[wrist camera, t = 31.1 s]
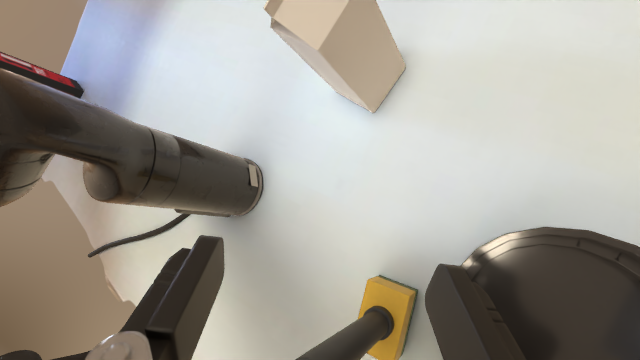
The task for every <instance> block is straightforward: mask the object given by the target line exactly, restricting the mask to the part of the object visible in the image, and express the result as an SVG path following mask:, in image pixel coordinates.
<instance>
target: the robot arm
mask: <svg viewBox="0 0 640 360" xmlns="http://www.w3.org/2000/svg"><path fill="white" fill-rule="evenodd" d="M55 154H58V155H62V156H66V157H70V158H73V159H77V160H80V161H83V178H84V184H85V187H86V189H87V192H88V193H89V195H90V196H91V197H92V198H94V199H95V200H98V201H101V202H106V203H115V204H126V205H136V206H147V207H159V208H169V209H175V211H176V212H177V213H183V214H182V215H180V216H179V217H177V218H176V219H174V220H173V221H171V222H170V223H168V224H166V225H164V226H162V227H160V228H158V229H156V230H153V231H150V232H147V233H145V234H141V235H138V236H134V237H129V238H125V239H122V240H118V241H115V242H111V243H109V244H106V245H104V246H102V247H100V248H98V249H97V250H95V251H93V252H91V253H90V254H88V257H92V256H94V255H96V254H98V253H99V252H101V251H103V250H105V249H108V248H110V247H113V246H117V245H120V244H124V243H128V242H133V241H137V240H141V239H144V238H148V237H151V236H154V235H156V234H159V233H161V232H163V231H165V230H167V229H169V228H171V227H172V226H174V225H176V224H177V223H179V222H180V221H182V220H183V219H185V218H186V217H187V216H189V215H190V214H197V215H209V216H221V217H229V216H231V215H235V216H240V215H244V214H246V213H248V212H249V211H251V210H252V209H253V208H254V206H255V205H256V204H257V202H258V200H259V198H260V195H261V191H262V175H261V172H260V169H259V167H258V166H257V165H256V164H255V163H254V162H253V161H251V160H248V159H245V158H240V157H237V156H234V155H231V154H228V153H225V152H222V151H219V150H216V149H213V148H210V147H207V146H204V145H201V144H198V143H195V142H192V141H189V140H186V139H183V138H180V137H177V136H174V135H171V134H168V133H165V132H162V131H159V130H156V129H153V128H150V127H147V126H144V125H141V124H138V123H135V122H132V121H130V120H128V119H126V118H124V117H122V116H120V115H118V114H116V113H114V112H112V111H110V110H108V109H106V108H103V107H100V106H98V105H95V104H93V103H90V102H87V101H84V100H82V99H79V98H77V97H74V96H71V95H69V94H66V93H64V92H61V91H59V90H56V89H54V88H51V87H49V86H46V85H44V84H41V83H39V82H36V81H34V80H31V79H29V78H26V77H23V76H21V75H18V74H15V73H13V72H10V71H7V70H5V69H2V68H0V207H1V206H4V205H7V204H9V203H11V202H13V201H15V200H17V199H19V198H21V197H23V196H24V195H25V194H27V193H28V192H29V191H30V190H31V189H32V188H33V187H34V186H35V185H36V183H37V182H38V181H39V179H40V178H41V177H42V175H43V173H44V172H45V170H46V168H47V167H48V165H49V163H50V162H51V160H52V158H53V157H54V155H55ZM223 276H224V243H223V238H221V237H213V236H204V235H201V236H199V238H198V239H197V241H196V243H195V244H194V246H193V248H192V249H186V248H182V249H181V250H179V251H178V252H177V253H175V254H174V255H173V256H171V257H170V258H169V259H168V261H167V262H166V264H165V265H164V267H163V268H162V270H161V273H159V274H158V276H157V277H156V279H155V280H154V283H153V284H152V285H151V286H150V288H149V289H148V291H147V292H146V294H145V295H144V297H143V298H142V300H141V301H140V303H139V304H138V306H137V307H136V309H135V310H134V312H133V313H132V315H131V316H130V318H129V319H128V321H127V322H126V324H125V325H124V327H123V328H122V329H121V330H120V332H118V333H117V334H114V335H112V336H110V337H108V338H106V339H104V340H103V341H102V342H100V343H99V344H98V345H97V346H95V347H94V348H93V349H92V350H91V351H88V352H84V353H81V354H76V355H71V356H66V357H61V358H57V359H52V360H191V358H192V356H193V353H194V351H195V349H196V346H197V344H198V341H199V339H200V336H201V334H202V331H203V329H204V326H205V324H206V321H207V319H208V316H209V314H210V311H211V309H212V306H213V304H214V301H215V299H216V296H217V294H218V291H219V289H220V286H221V284H222V280H223ZM425 306H426V310H427V313H428V316H429V319H430V322H431V324H432V327H433V330H434V333H435V336H436V339H437V342H438V345H439V348H440V351H441V353H442V356H443V359H444V360H526V358H525V356H524V355H523V353H522V351H521V349H520V348H519V346H518V344H517V343H516V341H515V339H514V338H513V336H512V334H511V332H510V331H509V329H508V327H507V326H506V324H505V323H503V319H502V317H501V316H500V314H499V312H498V311H496V307H495V305H494V304H493V302H492V300H491V299H490V297H489V295H488V294H487V293H486V292H485V291H484V290H483V289H482V288H481V287H480V286H479V285H478V284H477V283H476V282H471V280H470V278H469V277H468V275H467V273H466V271H465V270H464V268H463V267H461V266H455V265H447V264H439V265H438V266H437V268H436V270H435V272H434V275H433V277H432V279H431V281H430V283H429V285H428V288H427V290H426V293H425ZM0 360H42V359H41V357H40V356H39V354H37V353H36V352H33V351H29V350H20V351H15V352H11V353H7V354H5V355H2V356H0Z"/></svg>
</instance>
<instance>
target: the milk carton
mask: <svg viewBox="0 0 640 360" xmlns="http://www.w3.org/2000/svg"><path fill="white" fill-rule="evenodd" d="M264 10H265V11H266V12H267V13H268V14H269V15H270V16H271V17H272V18H271V28H272V29H273V30H274V31H275V32H276V33H277V34H278V35H279V36H280V37H281V38H282V39H283V40H284V41H285V42H286V43H287V44H288V45H289V46H290V47H291V48H292V49H293V50H294V51H295V52H296V53H297V54H298V55H299V56H300V57H301V58H302V59H303V60H304V61H305V62H306V63H307V64H308V65H309V66H310V67H311V68H312V69H313V70H314V71H315V72H316V73H317V74H318V75H319V76H320V77H322V78H323V79H324V80H325V81H326V82H327V83H328V84H329V85H330V86H331V87H332V88H333V89H334V90H335V91H336V92H337V93H339V94H341V95H342V96H344V97H346V98H348V99H349V100H351V101H353V102H354V103H356V104H358V105H360V106H361V107H363V108H365V109H367V110H368V111H370V112H372V113H375V111H376V110H377V109H378V107H379V106H380V104H381V103H382V101H383V100H384V98H385V97H386V96H387V94H388V93H389V91H390V90H391V88H392V87H393V85H394V84H395V83H396V81H397V80H398V78H399V77H400V75H401V74H402V72H403V71H404V69H405V68H406V65H405V63H404V61H403V58H402V56H401V54H400V52H399V50H398V48H397V45H396V43H395V41H394V39H393V37H392V35H391V32H390V30H389V28H388V26H387V24H386V22H385V19H384V17H383V15H382V13H381V11H380V9H379V6H378V4H377V2H376V0H268V1H267V2H266V4H265V6H264Z"/></svg>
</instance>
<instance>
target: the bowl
mask: <svg viewBox="0 0 640 360" xmlns="http://www.w3.org/2000/svg"><path fill="white" fill-rule="evenodd" d="M461 267H463V268H464V270H465V271H466V273H467V275H468V277H469V278H470V280H471V282H476V283H477V284H478V285H479V286H480V287H481V288H482V289H483V290H484V291H485V292H486V293H487V294H488V295H489V297H490V299H491V300H492V302H493V304H494V305H495V307H496V311H498V312H499V314H500V316H501V317H502V319H503V323H505V324H506V326H507V327H508V329H509V331H510V332H511V334H512V336H513V338H514V339H515V341H516V343H517V344H518V346H519V348H520V349H521V351H522V353H523V355H524V356H525V358H526V360H640V247H638V246H636V245H633V244H630V243H627V242H624V241H621V240H618V239H614V238H611V237H608V236H605V235H602V234H599V233H596V232H593V231H589V230H577V229H565V228H552V227H541V228H536V229H530V230H525V231H519V232H514V233H508V234H504V235H501V236H499V237H497V238H496V239H494V240H492V241H490V242H488V243H486V244H484V245H482V246H480V247H478V248H477V249H476V250H475V251H474V252H473V253H472V254H471V255H470V256H469V257H468V258H467V260H466V261H465V262H464V263H463V264H462V265H461Z"/></svg>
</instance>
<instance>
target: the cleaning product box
mask: <svg viewBox="0 0 640 360" xmlns="http://www.w3.org/2000/svg"><path fill="white" fill-rule="evenodd" d="M0 68H2V69H5V70H7V71H10V72H13V73H15V74H18V75H21V76H23V77H26V78H29V79H31V80H34V81H36V82H39V83H41V84H44V85H46V86H49V87H51V88H54V89H56V90H59V91H61V92H64V93H66V94H69V95H71V96H74V97H77V98H79V99H80V98H81V95H82V93H83V90H82V88H81V87H80V86H79V84H78V83H77V82H76V81H75V80H72V79H70V78H67V77H65V76H62V75H59V74H56V73H54V72H52V71H49V70H46V69H44V68H41V67H38V66H36V65H33V64H31V63H28V62H26V61H23V60H21V59H18V58H15V57H13V56H10V55H7V54H5V53H2V52H0Z"/></svg>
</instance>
